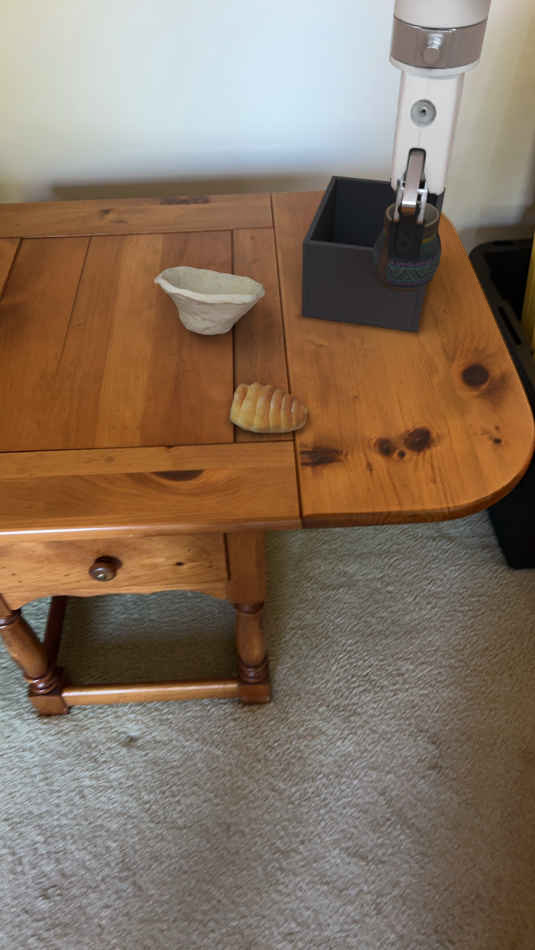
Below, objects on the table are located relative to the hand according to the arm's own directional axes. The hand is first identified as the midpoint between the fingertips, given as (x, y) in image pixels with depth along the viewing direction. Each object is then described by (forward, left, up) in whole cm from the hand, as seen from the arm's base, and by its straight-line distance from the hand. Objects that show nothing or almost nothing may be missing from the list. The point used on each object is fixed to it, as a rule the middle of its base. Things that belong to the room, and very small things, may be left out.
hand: (407, 236), depth 68 cm
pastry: (+14, +8, -22) cm, 27 cm away
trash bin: (+6, -22, -22) cm, 31 cm away
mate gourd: (0, 0, -5) cm, 5 cm away
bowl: (+26, -8, -22) cm, 35 cm away
